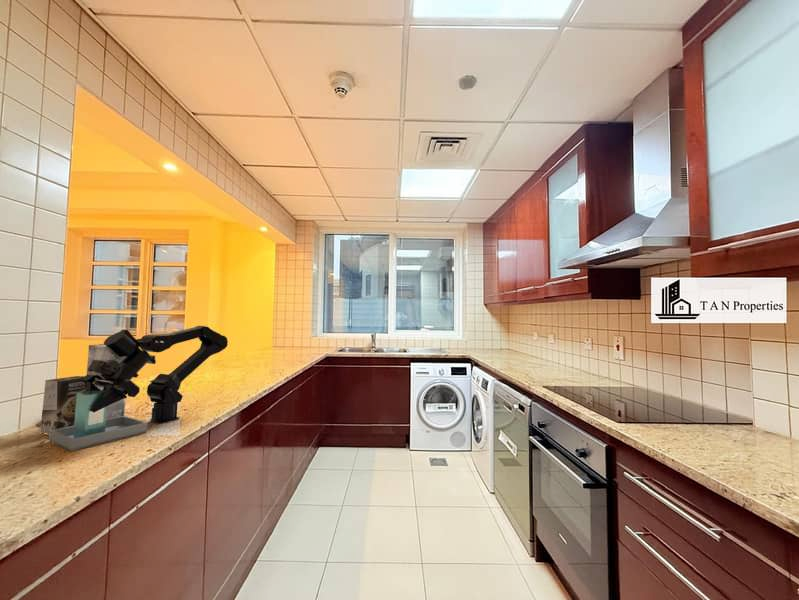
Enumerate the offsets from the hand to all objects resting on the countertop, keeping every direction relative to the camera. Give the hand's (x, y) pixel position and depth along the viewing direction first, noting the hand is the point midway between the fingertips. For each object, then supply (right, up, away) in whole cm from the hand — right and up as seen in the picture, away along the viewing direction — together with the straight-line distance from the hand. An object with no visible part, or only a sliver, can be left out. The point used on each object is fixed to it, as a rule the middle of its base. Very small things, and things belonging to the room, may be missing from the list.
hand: (85, 410), depth 98 cm
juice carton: (-11, -10, +19) cm, 25 cm away
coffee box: (-14, -9, +8) cm, 19 cm away
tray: (+1, -9, +4) cm, 10 cm away
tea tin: (0, -8, +1) cm, 8 cm away
